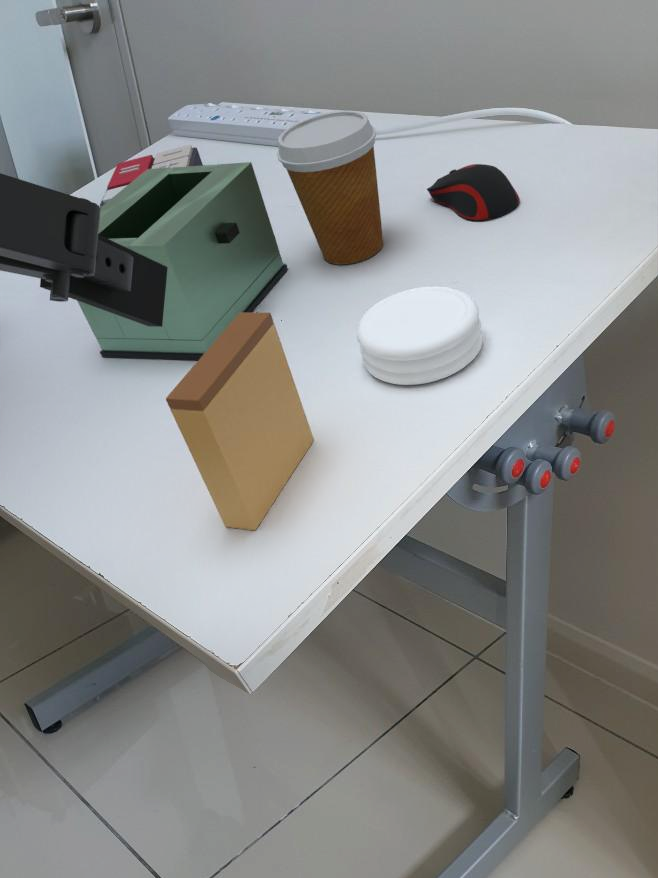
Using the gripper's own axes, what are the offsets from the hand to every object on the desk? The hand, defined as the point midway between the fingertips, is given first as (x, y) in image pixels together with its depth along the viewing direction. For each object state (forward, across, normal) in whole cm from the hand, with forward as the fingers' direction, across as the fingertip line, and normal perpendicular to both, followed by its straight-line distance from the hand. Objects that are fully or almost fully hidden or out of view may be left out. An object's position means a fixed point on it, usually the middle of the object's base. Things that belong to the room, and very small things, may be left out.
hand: (45, 297), depth 42 cm
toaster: (+39, -20, +9) cm, 45 cm away
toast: (+23, 0, -7) cm, 24 cm away
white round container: (+35, +6, +5) cm, 36 cm away
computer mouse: (+54, +2, +24) cm, 60 cm away
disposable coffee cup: (+48, -8, +17) cm, 51 cm away
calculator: (+57, -41, +27) cm, 76 cm away
